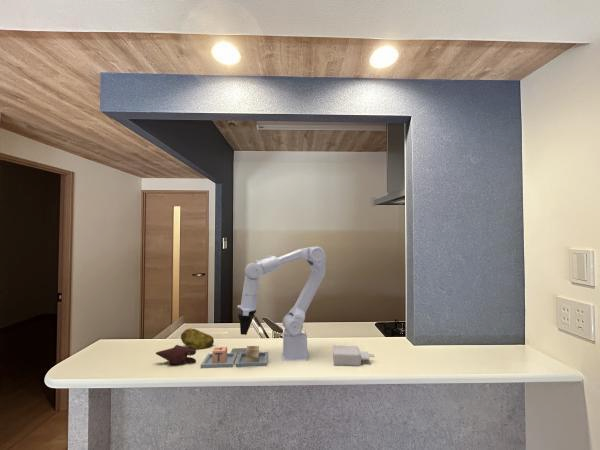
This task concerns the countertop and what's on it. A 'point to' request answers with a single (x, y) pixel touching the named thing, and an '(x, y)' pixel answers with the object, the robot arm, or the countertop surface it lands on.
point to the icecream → (177, 355)
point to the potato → (196, 339)
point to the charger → (349, 355)
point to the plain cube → (252, 354)
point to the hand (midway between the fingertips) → (244, 331)
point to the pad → (238, 350)
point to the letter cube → (219, 355)
